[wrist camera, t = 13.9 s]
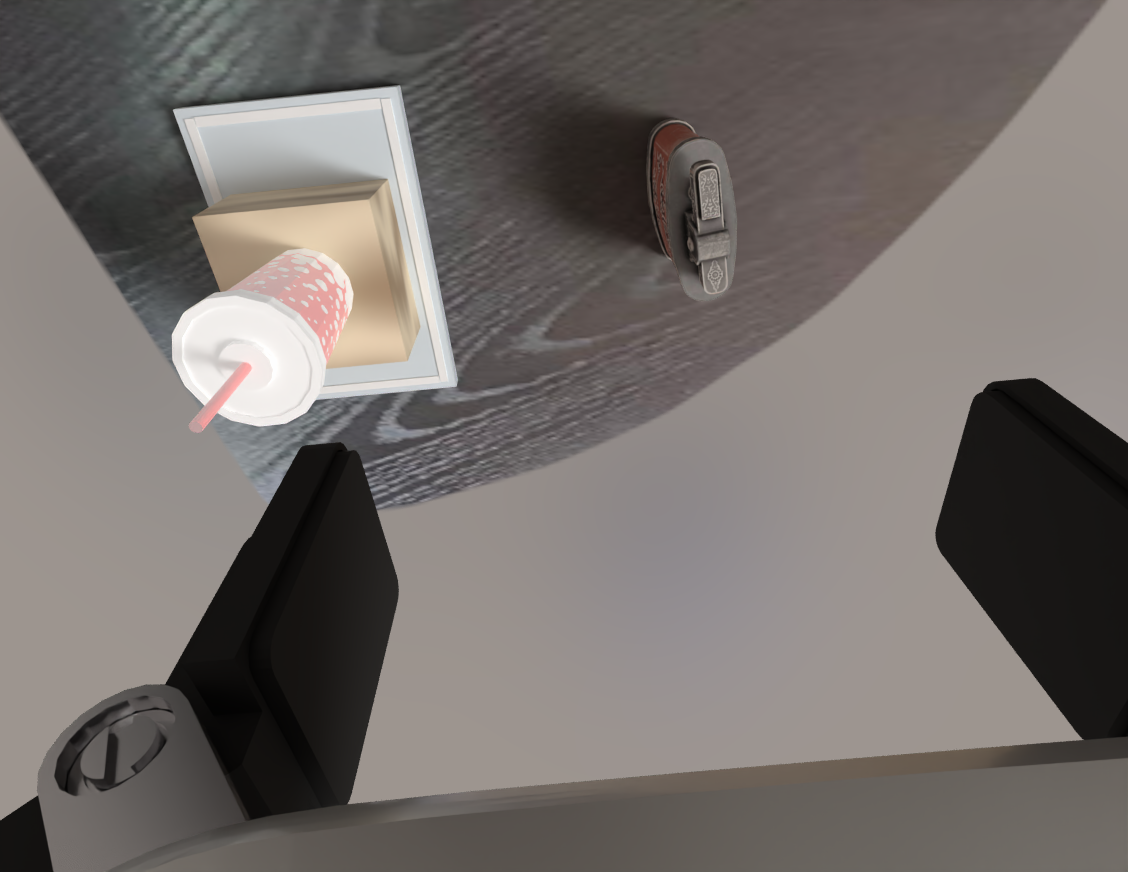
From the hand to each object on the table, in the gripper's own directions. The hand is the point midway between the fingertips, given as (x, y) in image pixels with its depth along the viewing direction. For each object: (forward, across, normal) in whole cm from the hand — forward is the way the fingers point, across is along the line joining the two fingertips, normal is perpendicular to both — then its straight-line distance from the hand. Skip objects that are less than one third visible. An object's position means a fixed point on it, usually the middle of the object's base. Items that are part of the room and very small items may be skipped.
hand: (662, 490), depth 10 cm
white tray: (+32, +15, +5) cm, 36 cm away
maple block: (+31, +15, +5) cm, 35 cm away
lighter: (+32, -6, +3) cm, 33 cm away
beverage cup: (+26, +15, +5) cm, 31 cm away
